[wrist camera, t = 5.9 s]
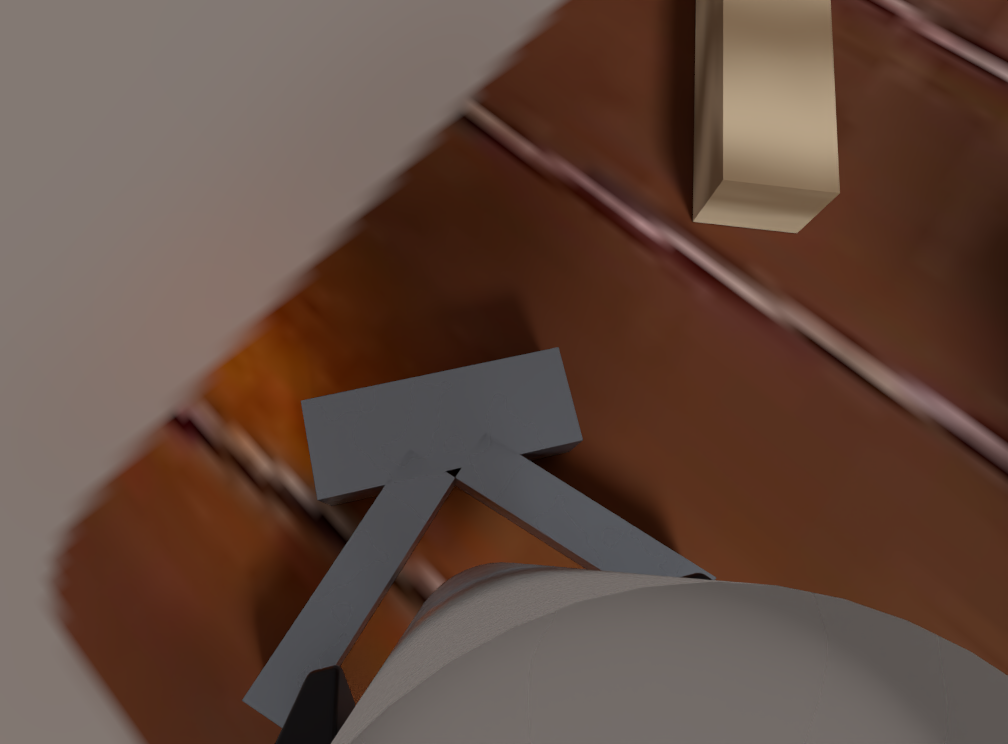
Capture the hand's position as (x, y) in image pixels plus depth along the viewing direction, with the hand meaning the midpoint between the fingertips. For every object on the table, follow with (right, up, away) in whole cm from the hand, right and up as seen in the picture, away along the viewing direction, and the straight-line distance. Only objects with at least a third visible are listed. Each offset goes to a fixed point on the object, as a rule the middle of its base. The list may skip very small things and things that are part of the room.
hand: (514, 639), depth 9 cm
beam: (+9, +15, +18) cm, 25 cm away
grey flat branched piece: (-1, -1, +13) cm, 13 cm away
